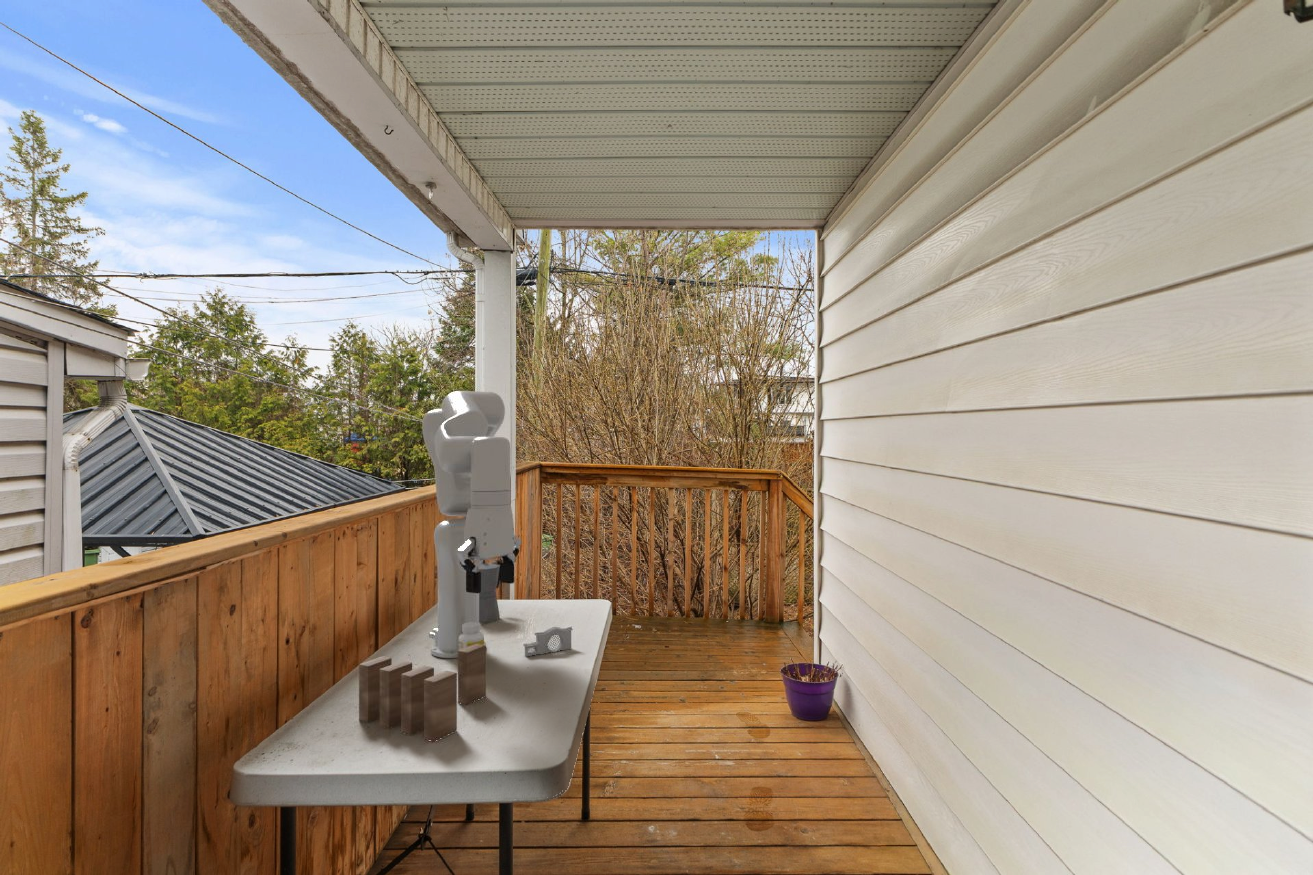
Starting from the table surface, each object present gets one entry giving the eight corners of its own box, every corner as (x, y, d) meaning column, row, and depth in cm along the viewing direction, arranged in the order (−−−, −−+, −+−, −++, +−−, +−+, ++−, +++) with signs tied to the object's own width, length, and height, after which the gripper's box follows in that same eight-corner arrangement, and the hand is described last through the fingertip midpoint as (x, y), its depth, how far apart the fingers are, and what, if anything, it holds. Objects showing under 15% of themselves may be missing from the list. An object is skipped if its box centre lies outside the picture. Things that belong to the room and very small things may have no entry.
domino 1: (358, 720, 116) (359, 664, 116) (382, 710, 121) (382, 656, 121) (367, 722, 115) (367, 666, 115) (391, 712, 120) (391, 658, 120)
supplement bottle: (488, 666, 145) (488, 622, 145) (474, 674, 140) (474, 628, 140) (468, 663, 147) (468, 620, 147) (453, 671, 141) (453, 626, 142)
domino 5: (458, 703, 124) (458, 650, 124) (476, 694, 128) (476, 643, 128) (467, 705, 123) (467, 652, 123) (486, 696, 127) (485, 645, 127)
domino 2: (379, 726, 114) (379, 669, 114) (403, 716, 118) (403, 660, 118) (388, 729, 113) (388, 671, 113) (412, 718, 117) (412, 662, 117)
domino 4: (423, 739, 108) (424, 679, 109) (446, 728, 113) (446, 670, 113) (434, 742, 107) (434, 682, 107) (456, 731, 112) (456, 672, 112)
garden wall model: (525, 658, 150) (525, 632, 150) (523, 656, 152) (523, 630, 152) (573, 649, 157) (573, 624, 157) (569, 647, 158) (569, 623, 158)
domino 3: (401, 732, 111) (401, 674, 111) (424, 722, 115) (424, 665, 116) (410, 735, 110) (411, 676, 110) (434, 724, 114) (434, 667, 114)
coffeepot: (482, 627, 176) (482, 560, 176) (454, 623, 180) (454, 558, 180) (515, 613, 190) (514, 552, 191) (488, 610, 194) (488, 550, 194)
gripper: (504, 496, 136) (504, 577, 136) (443, 502, 121) (443, 594, 121) (533, 497, 133) (533, 581, 133) (474, 503, 118) (474, 598, 117)
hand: (490, 587), depth 127 cm, fingers open, 9 cm apart
